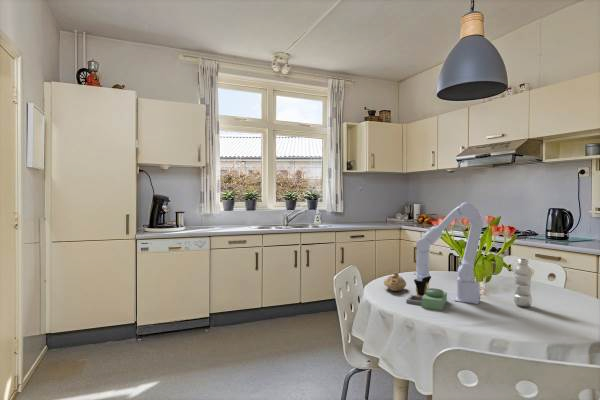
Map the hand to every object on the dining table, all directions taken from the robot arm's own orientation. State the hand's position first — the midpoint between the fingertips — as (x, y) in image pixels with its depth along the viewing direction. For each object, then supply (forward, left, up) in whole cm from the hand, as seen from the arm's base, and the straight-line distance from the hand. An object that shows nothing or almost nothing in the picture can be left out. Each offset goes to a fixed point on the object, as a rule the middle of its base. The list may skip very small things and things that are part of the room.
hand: (422, 293), depth 168 cm
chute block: (0, 0, -2) cm, 2 cm away
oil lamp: (+14, -4, -2) cm, 15 cm away
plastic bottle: (-40, -6, -2) cm, 40 cm away
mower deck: (-3, +10, -1) cm, 11 cm away
